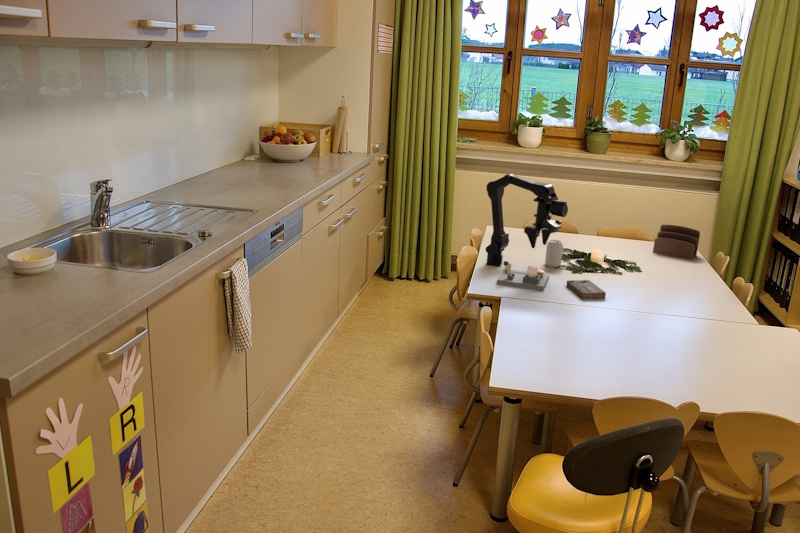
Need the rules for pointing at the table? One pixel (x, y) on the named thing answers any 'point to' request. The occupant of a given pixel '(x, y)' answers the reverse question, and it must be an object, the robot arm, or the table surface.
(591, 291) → the grey flat block
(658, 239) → the letter holder
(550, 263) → the can
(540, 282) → the panel
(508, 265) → the lever
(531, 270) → the button
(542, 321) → the table surface
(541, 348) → the table surface
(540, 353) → the table surface
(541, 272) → the rocker
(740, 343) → the table surface
